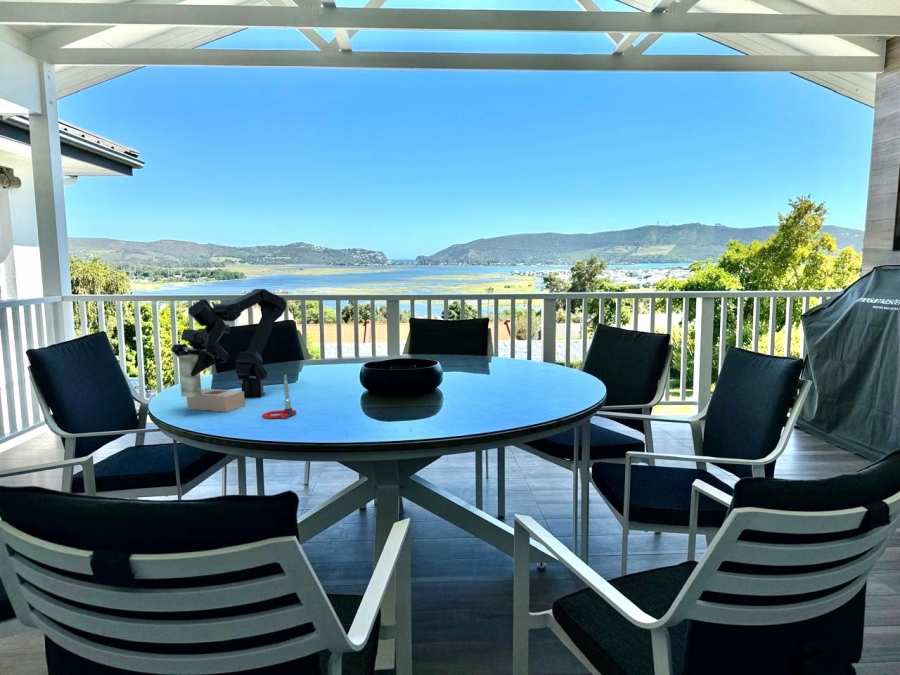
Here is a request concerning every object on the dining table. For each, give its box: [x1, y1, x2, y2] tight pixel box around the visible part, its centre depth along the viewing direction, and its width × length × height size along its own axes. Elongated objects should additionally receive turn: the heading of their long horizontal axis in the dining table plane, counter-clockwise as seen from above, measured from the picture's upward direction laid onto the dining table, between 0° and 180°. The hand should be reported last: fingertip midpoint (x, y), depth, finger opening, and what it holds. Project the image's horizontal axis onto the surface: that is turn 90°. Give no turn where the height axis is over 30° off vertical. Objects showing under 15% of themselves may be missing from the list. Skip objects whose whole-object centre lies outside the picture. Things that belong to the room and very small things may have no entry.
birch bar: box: [178, 354, 202, 398], centre depth 179 cm, size 4×4×12 cm
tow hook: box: [261, 374, 297, 420], centre depth 177 cm, size 8×13×9 cm
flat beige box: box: [186, 388, 246, 413], centre depth 190 cm, size 8×16×5 cm, turn 68°
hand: (186, 375), depth 178 cm, fingers closed on birch bar, 4 cm apart
